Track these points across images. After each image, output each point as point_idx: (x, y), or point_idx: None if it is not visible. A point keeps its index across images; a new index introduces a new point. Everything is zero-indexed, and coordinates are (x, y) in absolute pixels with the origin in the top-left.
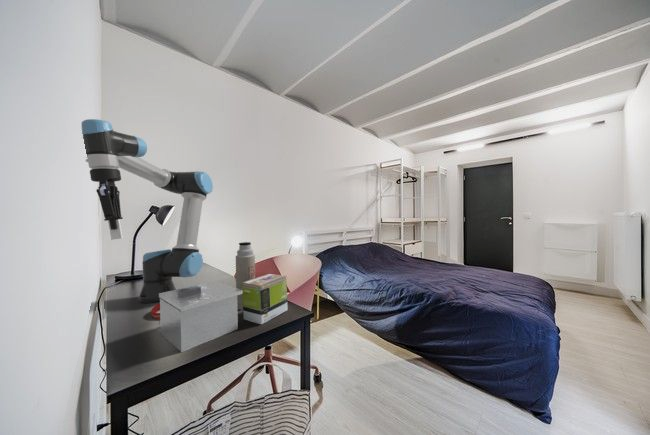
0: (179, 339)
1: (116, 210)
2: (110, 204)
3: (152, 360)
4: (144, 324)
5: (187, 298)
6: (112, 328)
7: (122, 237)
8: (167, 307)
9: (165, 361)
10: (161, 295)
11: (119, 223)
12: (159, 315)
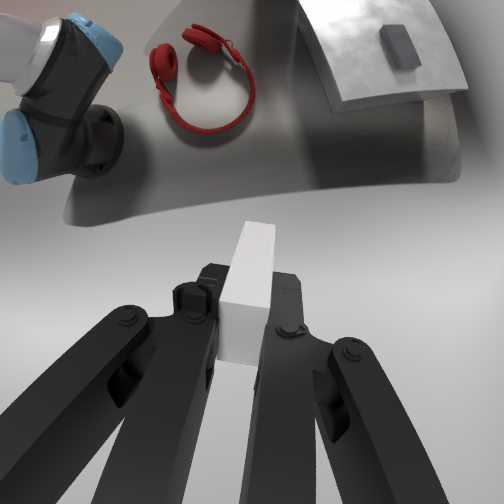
0: (426, 98)
1: (192, 398)
2: (432, 474)
3: (424, 136)
4: (258, 142)
5: (424, 61)
6: (242, 197)
7: (251, 223)
8: (393, 96)
9: (435, 123)
10: (363, 97)
11: (255, 279)
12: (245, 114)
